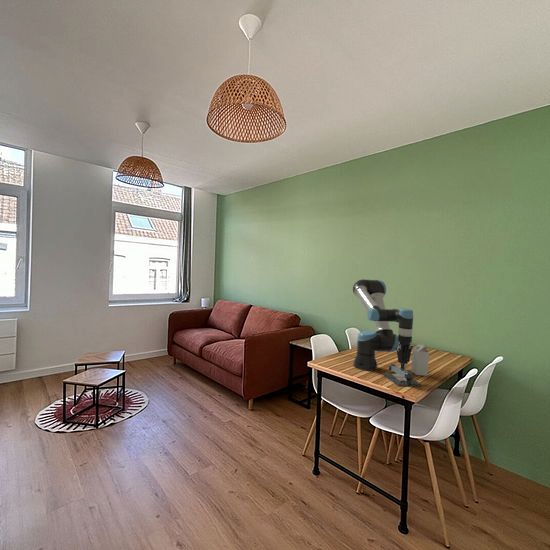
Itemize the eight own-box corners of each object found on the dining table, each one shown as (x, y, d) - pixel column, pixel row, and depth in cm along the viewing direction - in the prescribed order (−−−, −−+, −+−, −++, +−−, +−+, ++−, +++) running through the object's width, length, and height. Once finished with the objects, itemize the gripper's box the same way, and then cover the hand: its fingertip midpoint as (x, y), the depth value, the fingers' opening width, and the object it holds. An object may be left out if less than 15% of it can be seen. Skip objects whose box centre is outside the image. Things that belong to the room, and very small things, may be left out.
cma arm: (387, 369, 179) (387, 364, 179) (392, 368, 181) (393, 363, 181) (408, 380, 162) (408, 374, 162) (414, 379, 164) (414, 373, 164)
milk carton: (422, 372, 190) (424, 343, 189) (427, 376, 182) (429, 345, 182) (411, 371, 190) (413, 342, 189) (416, 375, 183) (418, 345, 182)
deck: (383, 375, 179) (384, 369, 179) (405, 375, 181) (405, 370, 181) (397, 386, 163) (398, 379, 163) (421, 386, 165) (421, 379, 165)
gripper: (406, 332, 179) (404, 370, 180) (392, 334, 173) (390, 373, 174) (417, 335, 173) (415, 374, 174) (403, 337, 167) (401, 378, 168)
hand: (403, 374), depth 174 cm, fingers closed
